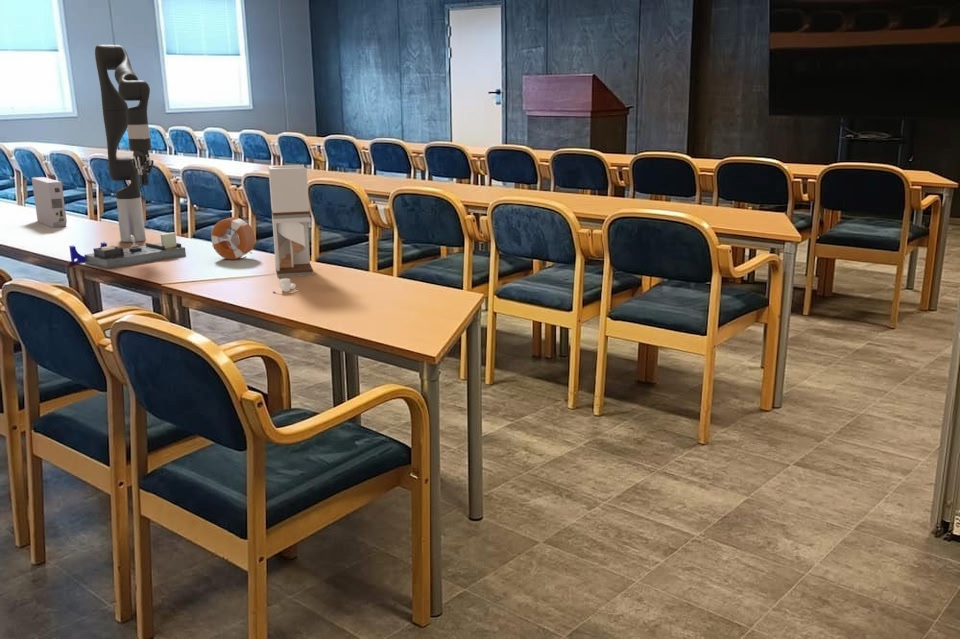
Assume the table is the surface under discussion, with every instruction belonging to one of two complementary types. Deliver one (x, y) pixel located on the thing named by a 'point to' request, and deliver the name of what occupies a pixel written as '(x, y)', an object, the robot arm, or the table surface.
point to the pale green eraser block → (168, 240)
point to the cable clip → (77, 256)
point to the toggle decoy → (133, 242)
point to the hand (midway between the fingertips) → (144, 184)
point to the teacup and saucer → (286, 284)
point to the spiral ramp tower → (290, 219)
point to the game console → (49, 201)
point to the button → (108, 247)
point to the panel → (132, 255)
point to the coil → (232, 238)
